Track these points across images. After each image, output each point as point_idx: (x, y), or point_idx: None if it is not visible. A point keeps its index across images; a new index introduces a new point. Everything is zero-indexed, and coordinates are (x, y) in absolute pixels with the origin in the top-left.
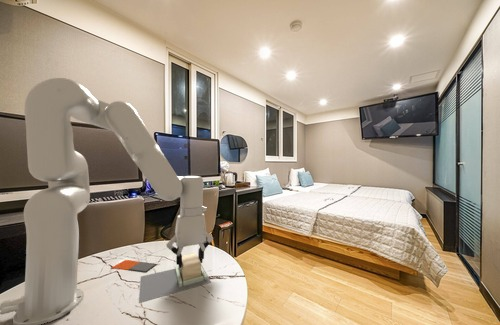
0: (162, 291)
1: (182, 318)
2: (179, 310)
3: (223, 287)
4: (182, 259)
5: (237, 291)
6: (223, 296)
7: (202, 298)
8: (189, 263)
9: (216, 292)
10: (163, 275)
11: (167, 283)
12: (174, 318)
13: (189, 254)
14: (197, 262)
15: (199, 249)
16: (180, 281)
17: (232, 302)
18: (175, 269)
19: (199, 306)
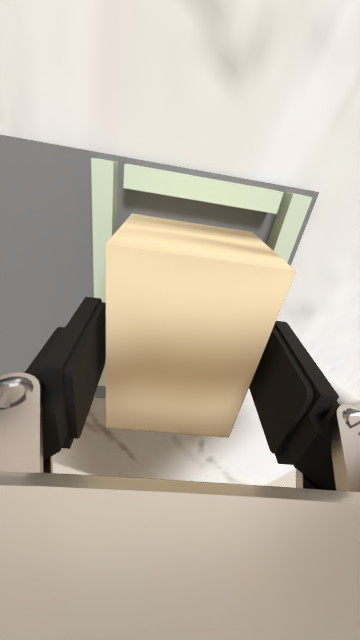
0: (20, 364)
1: (90, 470)
2: (86, 450)
3: (256, 436)
4: (116, 330)
5: (276, 464)
6: (226, 461)
7: (166, 443)
8: (152, 413)
9: (220, 442)
10: (7, 213)
11: (41, 318)
12: (69, 463)
13: (219, 263)
14: (209, 425)
15: (307, 410)
16: (102, 374)
17: (231, 483)
18: (94, 207)
19: (145, 461)
